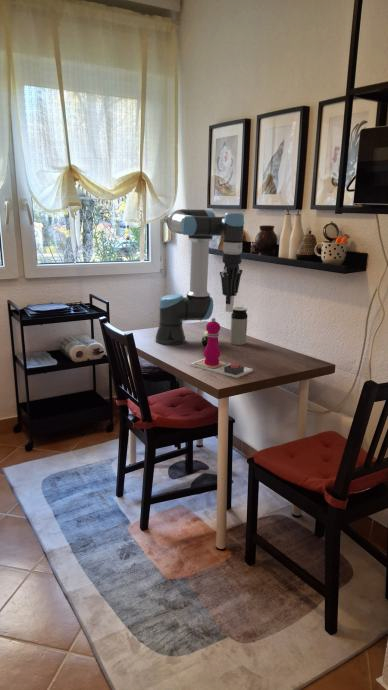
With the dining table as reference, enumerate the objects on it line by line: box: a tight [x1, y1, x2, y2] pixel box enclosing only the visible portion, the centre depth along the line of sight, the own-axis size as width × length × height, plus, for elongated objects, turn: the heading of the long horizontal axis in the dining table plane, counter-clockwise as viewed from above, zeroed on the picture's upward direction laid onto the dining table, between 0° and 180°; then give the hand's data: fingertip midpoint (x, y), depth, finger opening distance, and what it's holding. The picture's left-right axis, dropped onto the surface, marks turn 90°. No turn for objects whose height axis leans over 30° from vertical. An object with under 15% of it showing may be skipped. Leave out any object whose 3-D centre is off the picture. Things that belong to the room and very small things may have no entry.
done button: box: [230, 362, 240, 369], centre depth 206 cm, size 4×4×2 cm
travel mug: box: [229, 306, 248, 346], centre depth 253 cm, size 8×8×18 cm
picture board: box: [189, 357, 254, 379], centre depth 214 cm, size 12×24×3 cm, turn 51°
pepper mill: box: [203, 317, 221, 365], centre depth 214 cm, size 7×7×20 cm
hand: (229, 311), depth 206 cm, fingers closed
